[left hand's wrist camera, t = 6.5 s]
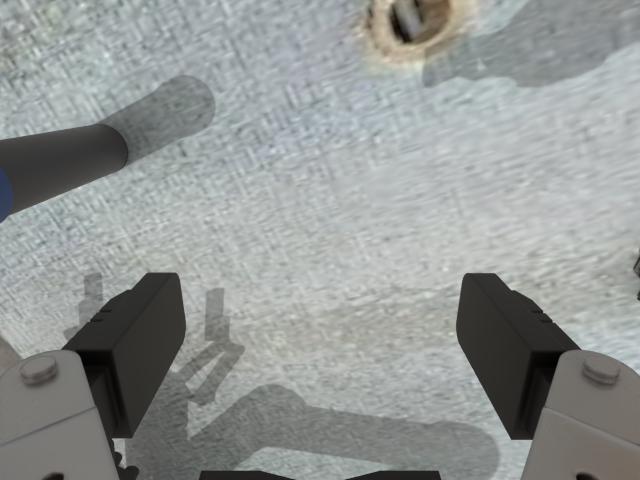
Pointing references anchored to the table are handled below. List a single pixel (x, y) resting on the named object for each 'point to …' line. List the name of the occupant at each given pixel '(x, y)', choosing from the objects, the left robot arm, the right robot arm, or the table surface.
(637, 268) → the gun
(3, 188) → the lid
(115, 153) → the dark grey bottle
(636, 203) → the table surface
